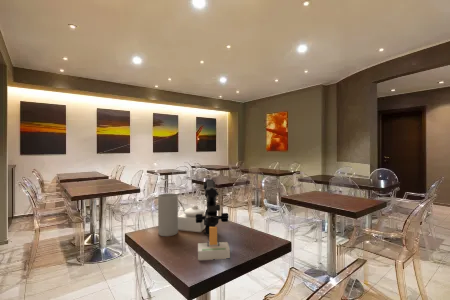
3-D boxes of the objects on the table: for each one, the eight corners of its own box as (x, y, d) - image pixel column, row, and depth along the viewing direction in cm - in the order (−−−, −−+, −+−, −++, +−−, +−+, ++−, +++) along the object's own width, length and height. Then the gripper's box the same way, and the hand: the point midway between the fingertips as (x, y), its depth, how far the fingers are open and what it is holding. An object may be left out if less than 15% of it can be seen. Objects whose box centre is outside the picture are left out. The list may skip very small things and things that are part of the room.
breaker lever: (209, 243, 127) (209, 226, 127) (216, 243, 127) (216, 226, 127) (209, 244, 125) (209, 227, 125) (217, 244, 126) (217, 227, 126)
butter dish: (176, 230, 163) (176, 206, 163) (188, 222, 181) (188, 201, 180) (200, 232, 158) (200, 208, 158) (210, 224, 175) (210, 202, 175)
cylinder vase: (168, 238, 148) (168, 198, 148) (154, 234, 154) (154, 195, 154) (181, 232, 159) (181, 194, 158) (168, 228, 165) (168, 192, 165)
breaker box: (198, 251, 129) (198, 240, 129) (227, 250, 131) (227, 239, 130) (198, 260, 119) (198, 248, 119) (229, 258, 121) (229, 247, 121)
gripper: (195, 199, 135) (195, 225, 124) (228, 199, 137) (230, 224, 126) (195, 210, 143) (195, 235, 132) (226, 209, 145) (229, 233, 134)
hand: (212, 231), depth 131 cm, fingers closed
